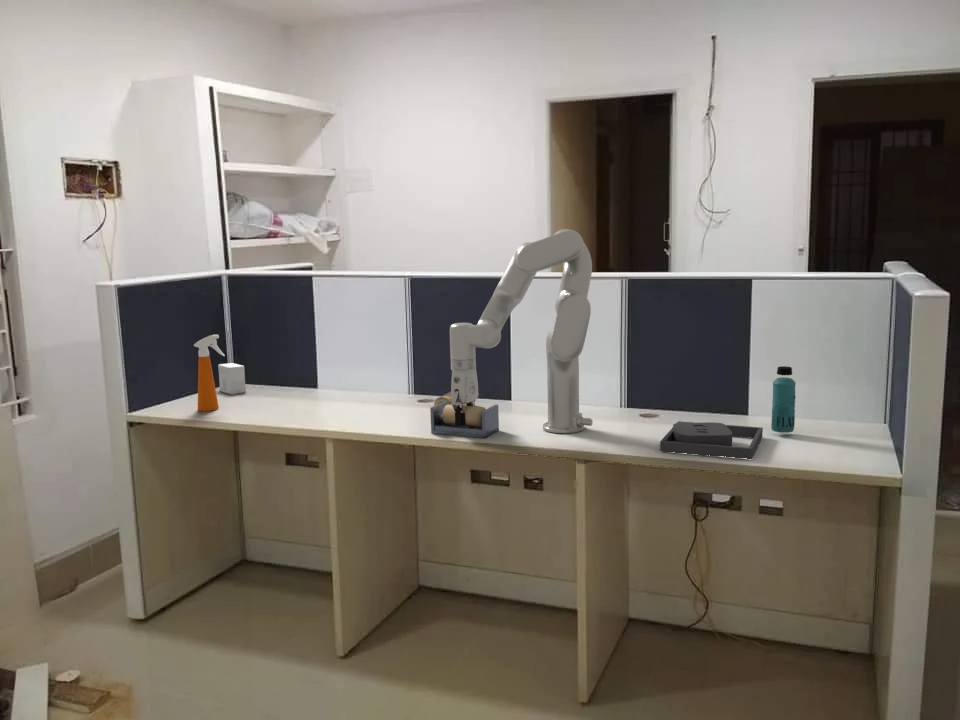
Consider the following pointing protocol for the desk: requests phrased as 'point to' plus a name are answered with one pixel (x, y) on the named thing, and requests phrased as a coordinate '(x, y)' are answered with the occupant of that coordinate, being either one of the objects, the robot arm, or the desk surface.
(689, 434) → the streaming box
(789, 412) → the beverage bottle
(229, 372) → the skincare box
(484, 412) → the holder
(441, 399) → the scroll
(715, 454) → the speaker tray
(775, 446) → the desk surface
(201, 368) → the spray bottle
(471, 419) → the roll
